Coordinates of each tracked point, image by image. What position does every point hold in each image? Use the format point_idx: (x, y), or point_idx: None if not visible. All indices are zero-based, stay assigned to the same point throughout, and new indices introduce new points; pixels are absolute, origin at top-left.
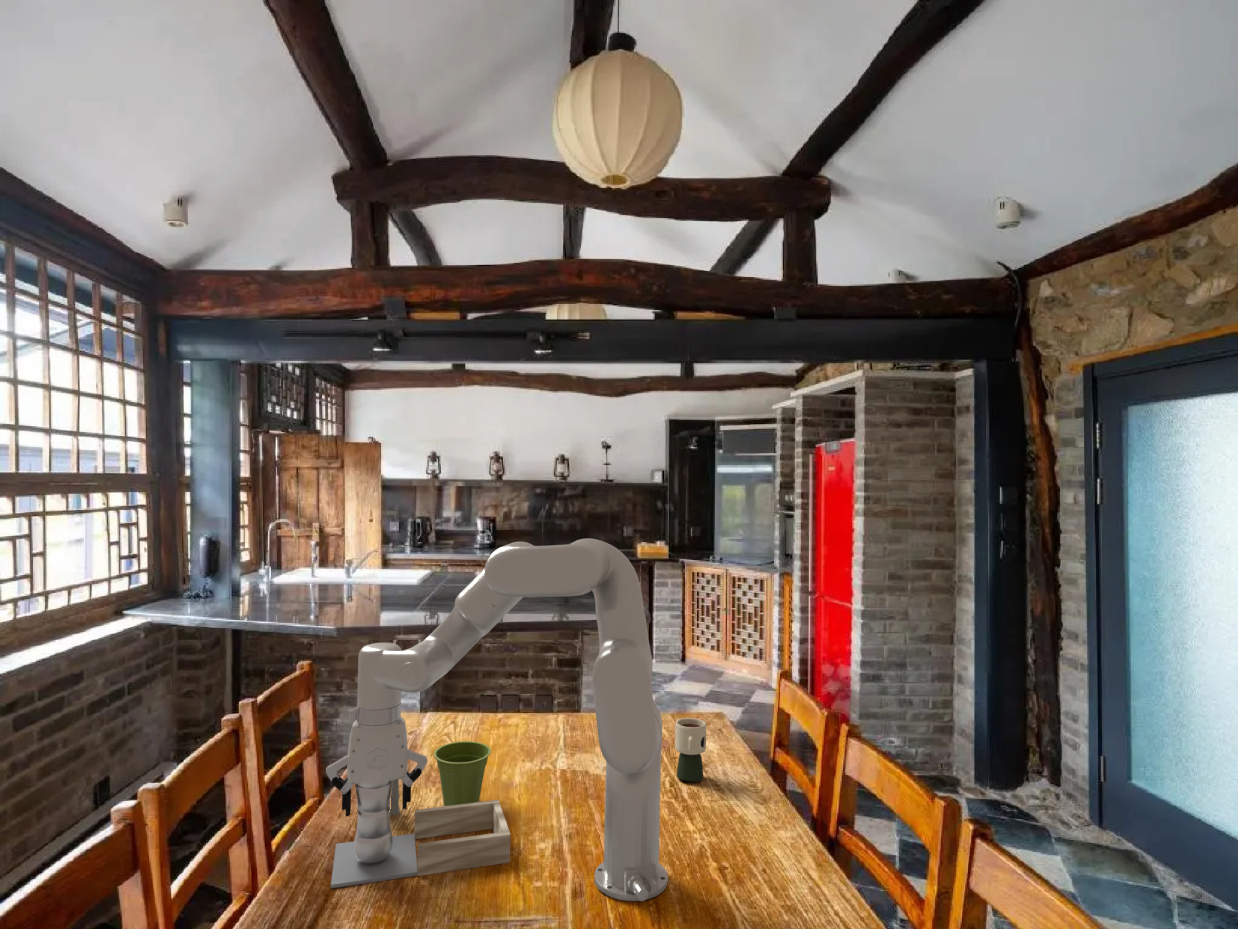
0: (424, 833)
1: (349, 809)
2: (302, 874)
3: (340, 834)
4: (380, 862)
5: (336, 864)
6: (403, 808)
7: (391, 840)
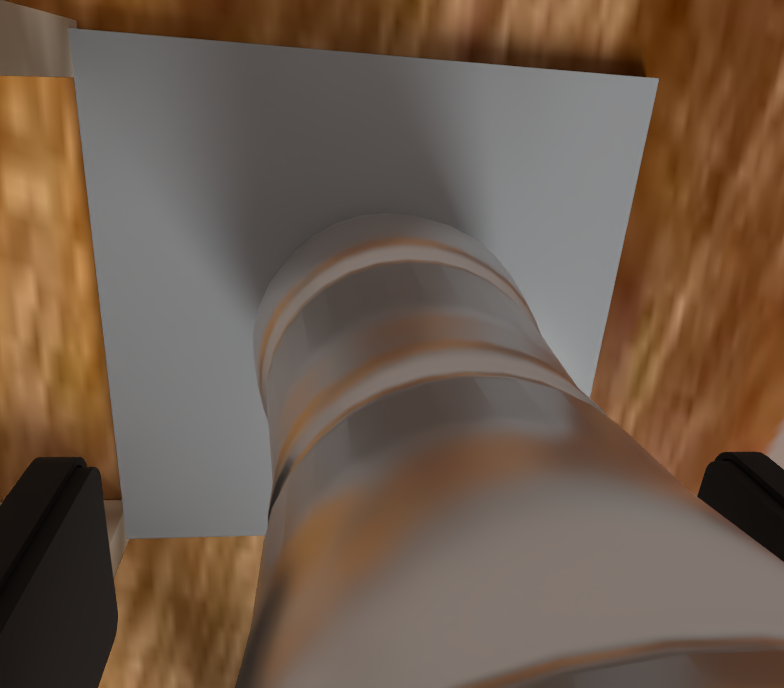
0: None
1: (769, 500)
2: (750, 300)
3: None
4: None
5: (591, 315)
6: (82, 471)
7: (261, 317)
